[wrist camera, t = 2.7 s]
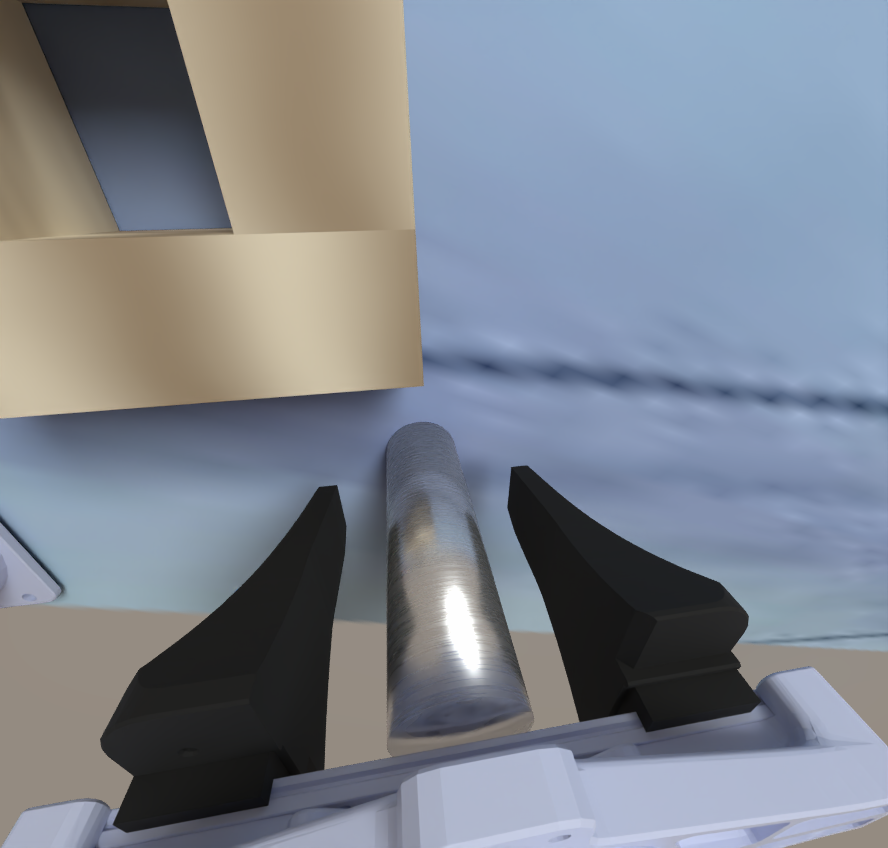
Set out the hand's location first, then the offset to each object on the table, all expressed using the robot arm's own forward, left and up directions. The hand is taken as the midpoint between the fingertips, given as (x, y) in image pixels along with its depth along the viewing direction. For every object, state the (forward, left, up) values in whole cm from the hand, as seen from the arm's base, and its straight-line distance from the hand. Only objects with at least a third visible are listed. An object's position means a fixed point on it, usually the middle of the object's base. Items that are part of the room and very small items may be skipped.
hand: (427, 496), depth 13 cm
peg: (0, 0, -3) cm, 3 cm away
